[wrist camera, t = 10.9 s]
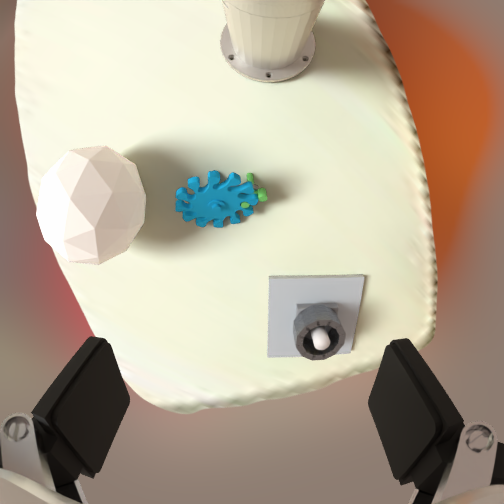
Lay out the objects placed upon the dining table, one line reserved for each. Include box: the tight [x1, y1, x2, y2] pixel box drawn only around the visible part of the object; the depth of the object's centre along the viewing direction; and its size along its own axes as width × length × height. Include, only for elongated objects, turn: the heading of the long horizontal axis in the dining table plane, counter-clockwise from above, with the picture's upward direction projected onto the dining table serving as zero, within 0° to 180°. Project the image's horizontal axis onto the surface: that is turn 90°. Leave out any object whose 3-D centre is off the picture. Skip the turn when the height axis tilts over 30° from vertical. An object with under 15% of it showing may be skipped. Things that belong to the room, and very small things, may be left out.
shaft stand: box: [267, 275, 364, 357], centre depth 39 cm, size 14×14×7 cm
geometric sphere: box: [36, 146, 146, 265], centre depth 30 cm, size 14×15×15 cm
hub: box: [293, 305, 346, 360], centre depth 38 cm, size 7×7×4 cm
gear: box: [175, 170, 267, 228], centre depth 34 cm, size 11×6×10 cm
